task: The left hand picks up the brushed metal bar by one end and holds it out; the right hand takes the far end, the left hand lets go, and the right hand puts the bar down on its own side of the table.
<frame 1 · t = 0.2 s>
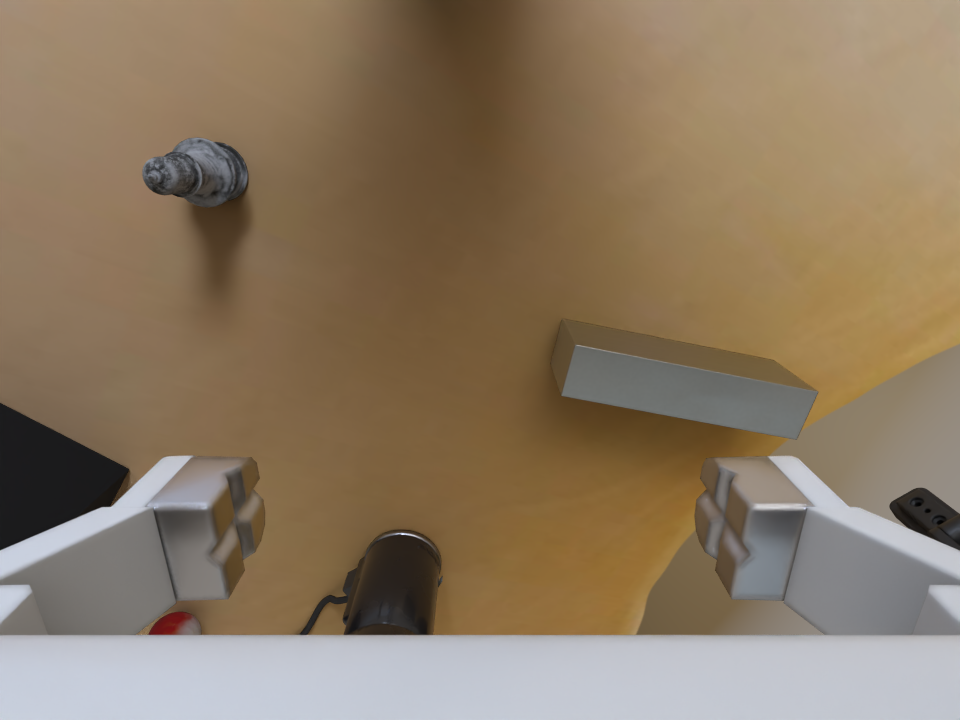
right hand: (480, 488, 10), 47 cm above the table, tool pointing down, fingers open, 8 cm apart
eyeball: (188, 618, 72), on the table
bar: (661, 361, 59), on the table
salt shaker: (220, 171, 52), on the table
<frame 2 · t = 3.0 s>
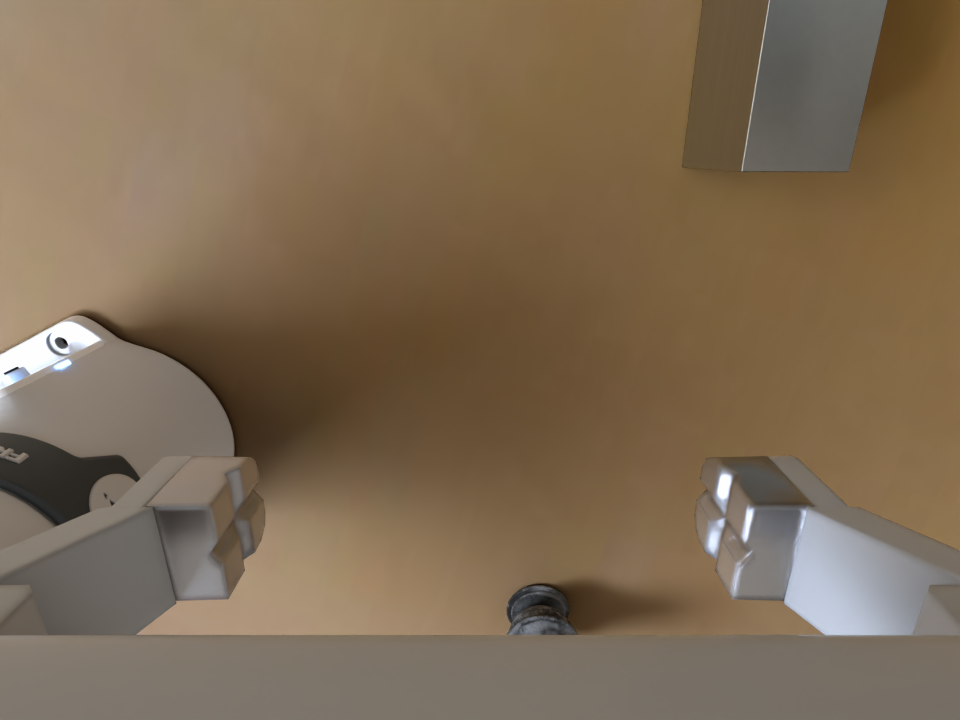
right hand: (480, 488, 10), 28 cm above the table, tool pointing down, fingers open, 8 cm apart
salt shaker: (537, 607, 47), on the table
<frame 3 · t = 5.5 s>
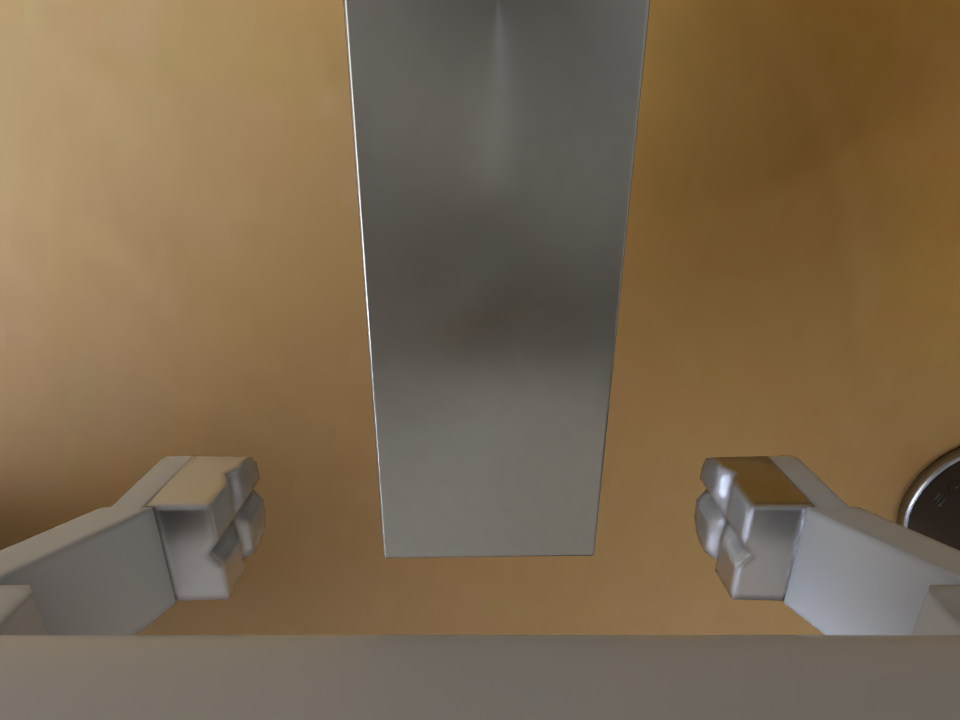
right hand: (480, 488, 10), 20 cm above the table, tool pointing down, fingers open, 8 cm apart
bar: (483, 65, 17), point 9 cm above the table, touching left hand
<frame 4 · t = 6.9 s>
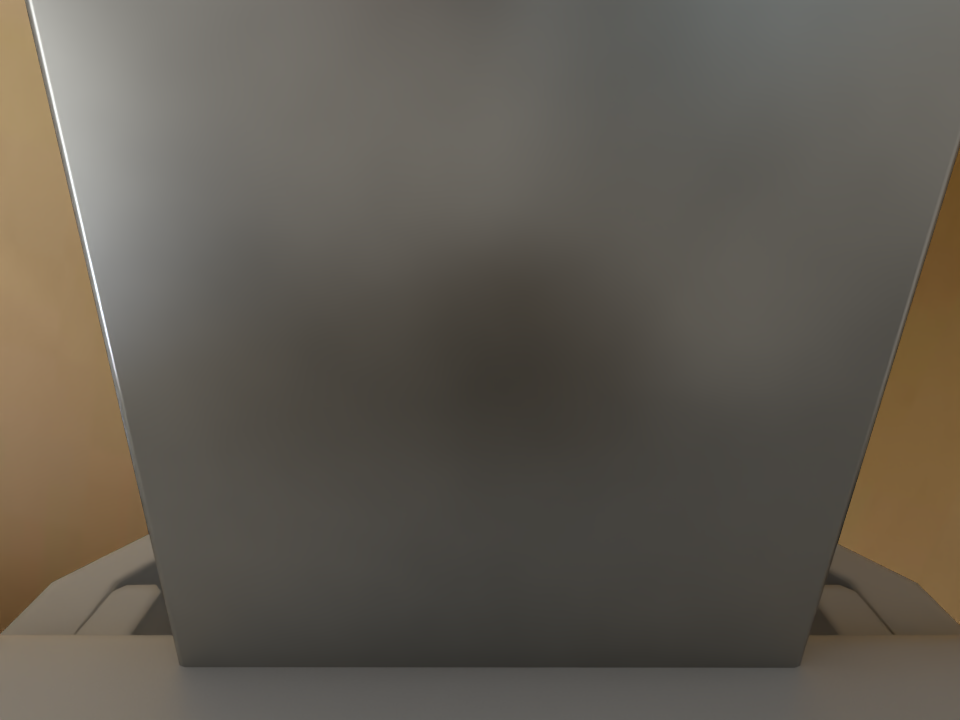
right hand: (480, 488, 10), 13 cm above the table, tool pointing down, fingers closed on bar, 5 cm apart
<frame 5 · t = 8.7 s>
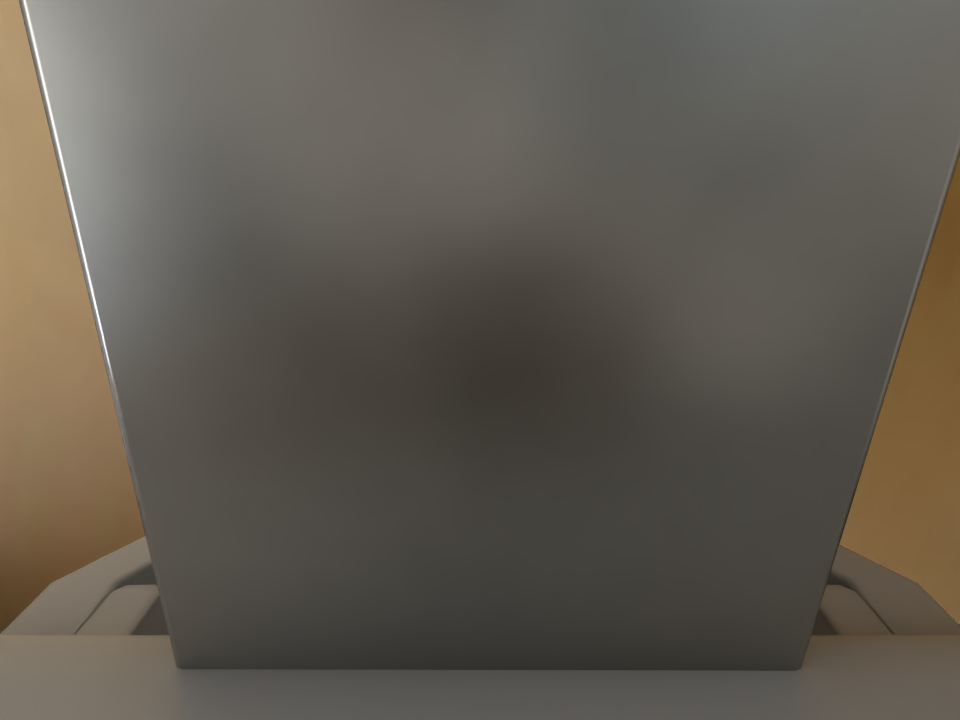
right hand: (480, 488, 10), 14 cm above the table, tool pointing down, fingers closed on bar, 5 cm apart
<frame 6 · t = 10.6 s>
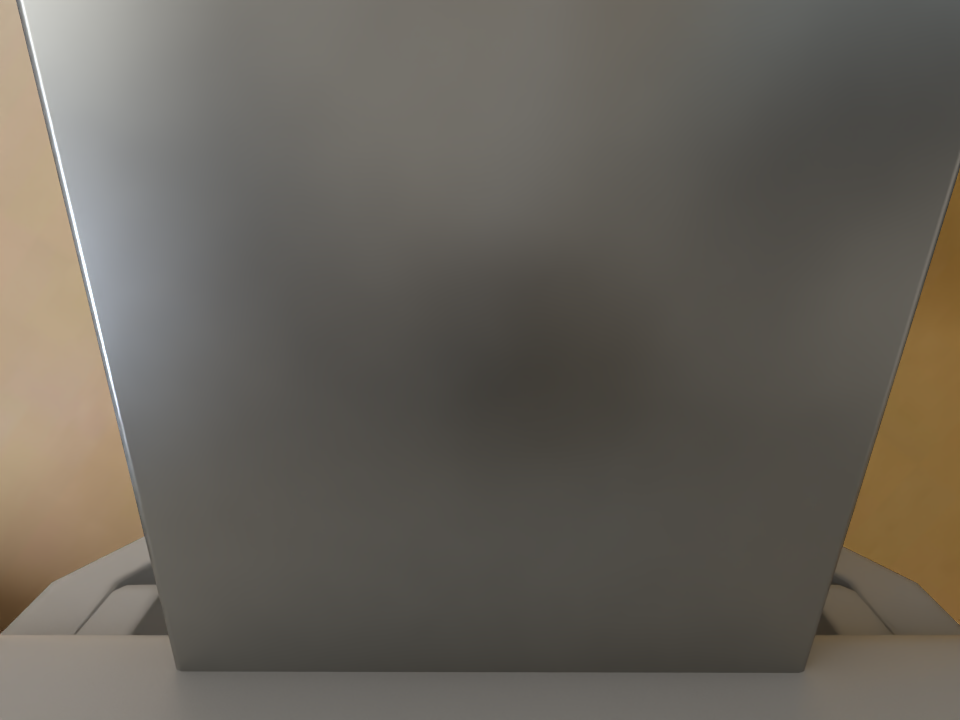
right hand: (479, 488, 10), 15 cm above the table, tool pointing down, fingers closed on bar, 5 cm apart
when the right hand's fingers open (4 cm above the table, at t = 14.2 s): bar stays where it is, on the table.
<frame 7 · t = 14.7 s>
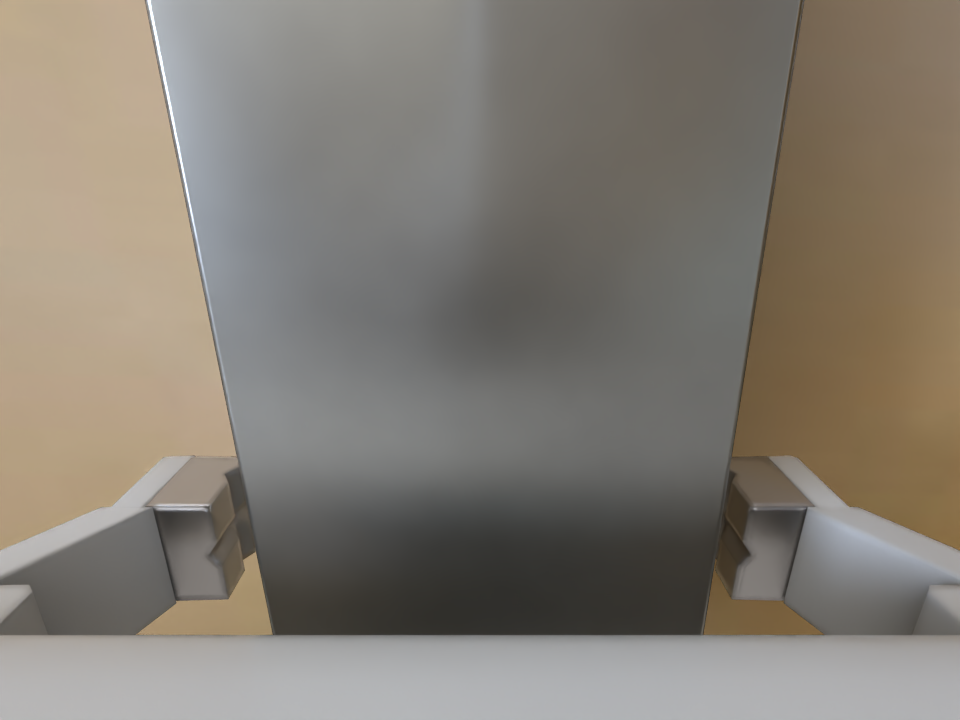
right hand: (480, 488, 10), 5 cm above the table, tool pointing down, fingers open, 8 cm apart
bar: (478, 54, 12), on the table
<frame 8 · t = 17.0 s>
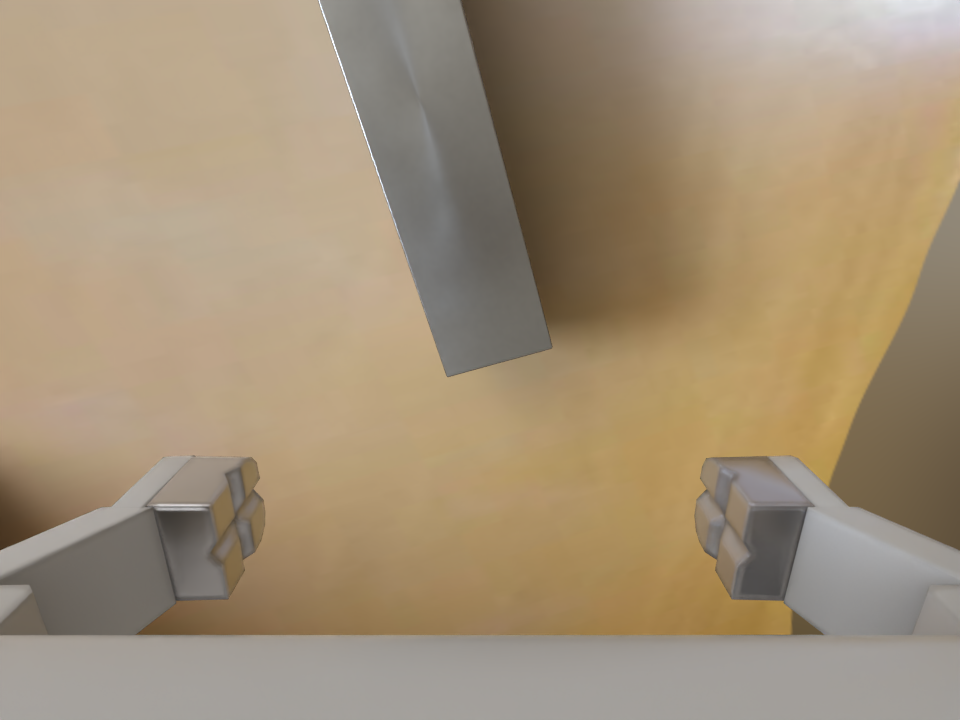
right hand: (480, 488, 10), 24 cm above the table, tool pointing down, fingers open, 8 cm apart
bar: (435, 113, 30), on the table
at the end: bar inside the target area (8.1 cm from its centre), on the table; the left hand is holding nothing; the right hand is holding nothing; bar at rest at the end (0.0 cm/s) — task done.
